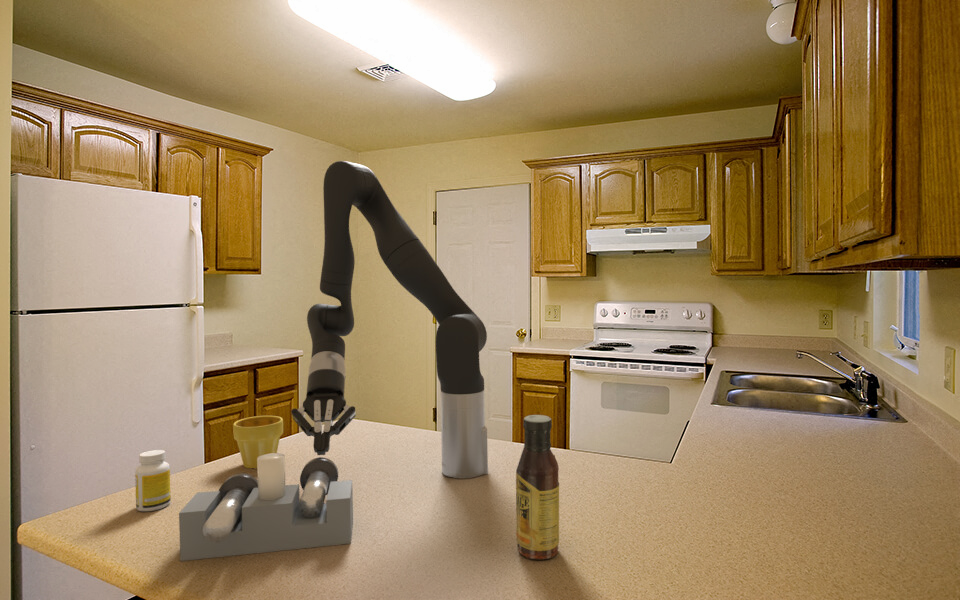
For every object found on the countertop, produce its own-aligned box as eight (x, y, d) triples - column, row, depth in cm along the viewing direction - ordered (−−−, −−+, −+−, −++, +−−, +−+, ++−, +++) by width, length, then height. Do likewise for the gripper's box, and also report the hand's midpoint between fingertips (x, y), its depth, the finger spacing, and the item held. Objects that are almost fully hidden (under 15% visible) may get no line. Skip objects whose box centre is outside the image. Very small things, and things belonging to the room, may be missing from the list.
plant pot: (266, 472, 115) (265, 427, 115) (223, 470, 117) (222, 425, 117) (292, 457, 126) (291, 416, 125) (253, 455, 128) (251, 414, 127)
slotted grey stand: (353, 521, 90) (352, 479, 90) (351, 543, 82) (350, 498, 82) (198, 536, 86) (197, 492, 86) (180, 561, 78) (178, 513, 78)
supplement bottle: (177, 502, 100) (176, 449, 100) (151, 514, 95) (149, 458, 95) (155, 499, 102) (154, 447, 101) (128, 510, 97) (127, 456, 96)
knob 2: (338, 491, 98) (338, 456, 97) (332, 524, 84) (331, 483, 84) (301, 494, 96) (301, 458, 96) (289, 528, 83) (288, 486, 82)
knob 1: (262, 509, 90) (261, 471, 90) (241, 549, 76) (240, 504, 76) (220, 513, 89) (219, 474, 88) (192, 554, 75) (191, 508, 75)
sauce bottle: (513, 543, 82) (511, 412, 81) (554, 540, 82) (552, 411, 82) (520, 565, 75) (518, 423, 75) (564, 562, 76) (562, 421, 75)
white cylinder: (287, 489, 86) (286, 452, 86) (283, 498, 82) (282, 459, 82) (261, 491, 86) (260, 454, 85) (255, 501, 82) (254, 461, 82)
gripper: (291, 368, 110) (281, 445, 98) (358, 366, 113) (356, 441, 101) (295, 389, 115) (286, 464, 104) (359, 387, 118) (357, 460, 106)
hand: (321, 453), depth 102 cm, fingers closed
